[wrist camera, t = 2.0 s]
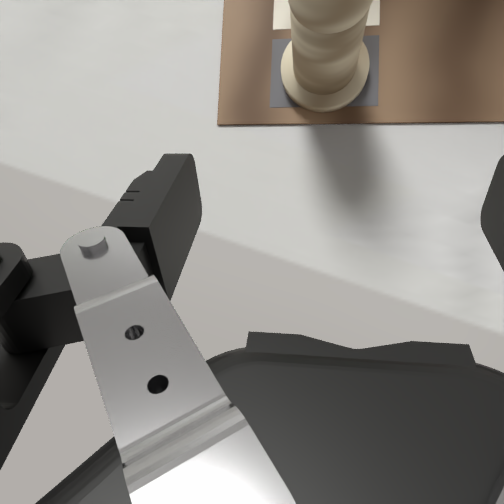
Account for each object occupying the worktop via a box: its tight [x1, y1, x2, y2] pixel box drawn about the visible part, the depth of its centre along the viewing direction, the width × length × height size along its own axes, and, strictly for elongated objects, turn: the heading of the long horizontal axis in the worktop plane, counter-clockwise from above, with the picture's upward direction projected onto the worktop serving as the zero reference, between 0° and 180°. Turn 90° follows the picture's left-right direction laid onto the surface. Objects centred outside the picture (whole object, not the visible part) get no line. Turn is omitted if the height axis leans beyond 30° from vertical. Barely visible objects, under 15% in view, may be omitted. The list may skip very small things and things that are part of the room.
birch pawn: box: [281, 0, 373, 113], centre depth 22 cm, size 6×6×10 cm
